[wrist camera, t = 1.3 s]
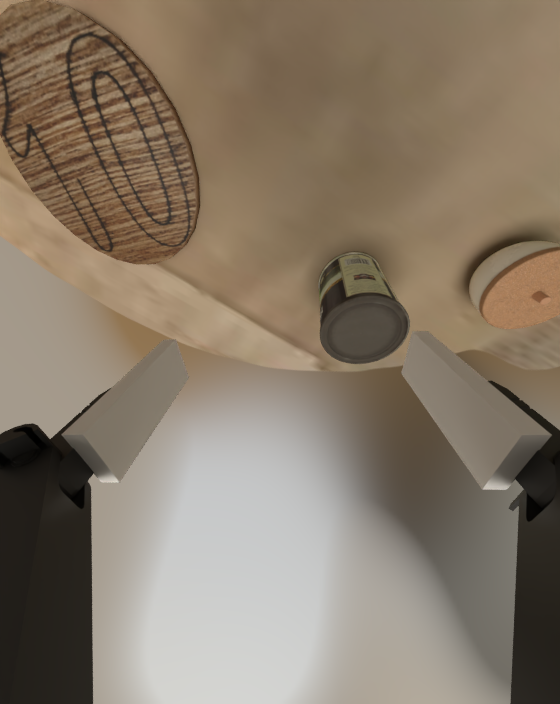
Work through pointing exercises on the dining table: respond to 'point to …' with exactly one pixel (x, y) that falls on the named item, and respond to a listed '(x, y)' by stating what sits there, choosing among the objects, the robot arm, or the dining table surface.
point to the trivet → (95, 134)
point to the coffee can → (359, 311)
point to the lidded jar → (518, 285)
